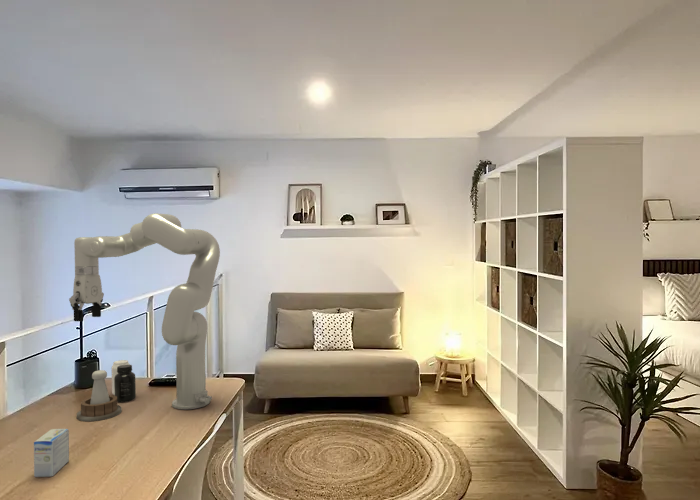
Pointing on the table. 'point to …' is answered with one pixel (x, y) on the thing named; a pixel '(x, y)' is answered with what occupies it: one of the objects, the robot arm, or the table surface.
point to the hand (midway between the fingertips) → (87, 318)
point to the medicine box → (51, 452)
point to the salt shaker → (99, 388)
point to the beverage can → (114, 371)
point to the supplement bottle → (125, 384)
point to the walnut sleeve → (99, 410)
